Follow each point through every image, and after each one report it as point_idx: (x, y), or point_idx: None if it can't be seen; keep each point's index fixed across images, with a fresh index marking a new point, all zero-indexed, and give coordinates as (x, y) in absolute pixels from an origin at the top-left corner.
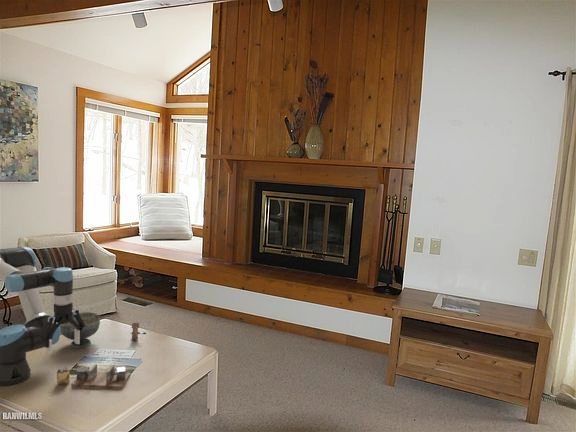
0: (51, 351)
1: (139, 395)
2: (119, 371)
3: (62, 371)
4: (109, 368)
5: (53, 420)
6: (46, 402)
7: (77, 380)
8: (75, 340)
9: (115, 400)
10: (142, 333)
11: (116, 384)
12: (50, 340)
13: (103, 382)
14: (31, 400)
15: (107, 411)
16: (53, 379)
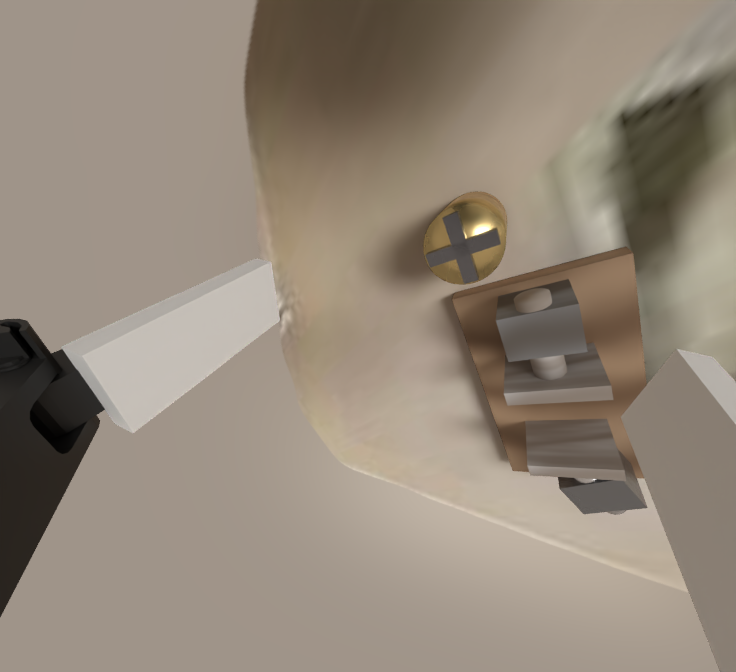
0: (258, 334)
1: (496, 506)
2: (571, 495)
3: (439, 264)
4: (569, 469)
5: (293, 368)
6: (327, 288)
7: (495, 302)
8: (679, 404)
9: (442, 461)
10: None
11: (521, 455)
12: (121, 425)
13: (520, 412)
14: (303, 224)
15: (388, 458)
16: (493, 120)
